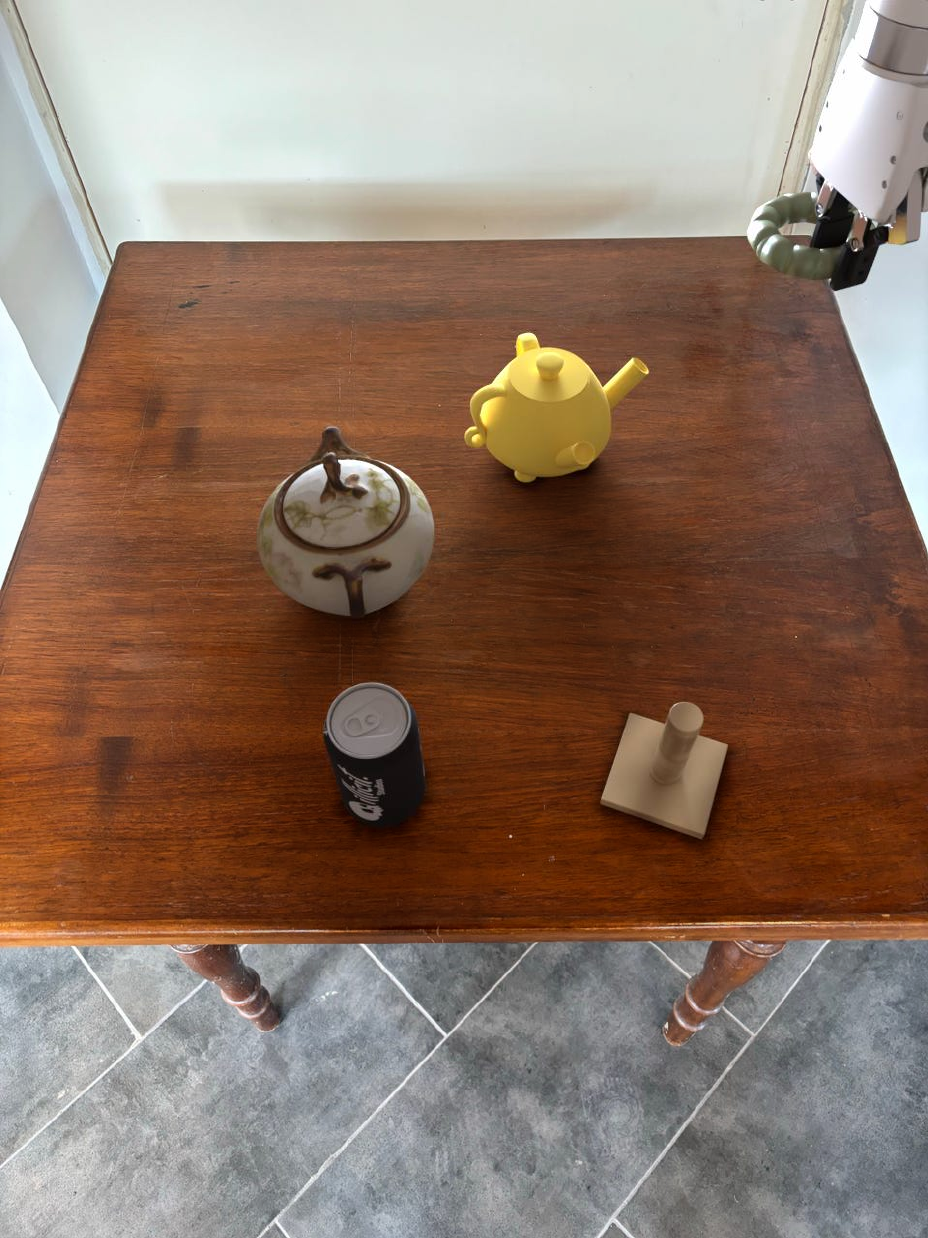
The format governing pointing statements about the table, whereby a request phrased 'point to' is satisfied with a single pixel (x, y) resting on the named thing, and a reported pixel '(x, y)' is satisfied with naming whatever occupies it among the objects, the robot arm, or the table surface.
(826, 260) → the ring
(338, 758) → the beverage can
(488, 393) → the teapot
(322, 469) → the sugar bowl
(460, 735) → the table surface
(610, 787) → the square base peg stand
